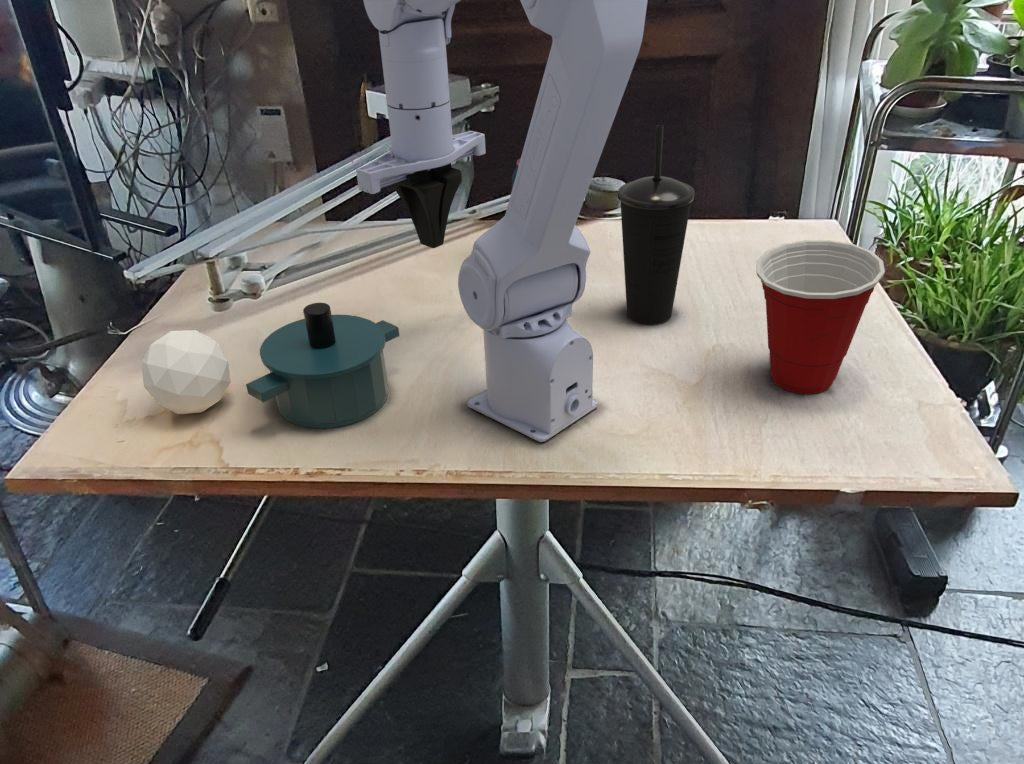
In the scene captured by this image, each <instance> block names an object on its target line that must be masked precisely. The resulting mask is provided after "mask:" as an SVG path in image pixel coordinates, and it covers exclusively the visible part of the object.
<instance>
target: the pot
mask: <svg viewBox="0 0 1024 764" xmlns="http://www.w3.org/2000/svg"><path fill="white" fill-rule="evenodd" d="M375 323H376V324H377V325H379V326H380V327H381V329H382V330H383V332H384V334H385V340H386V341H385V344H386V343H388V342H390V341H392V340H394V339H396V338H398V337H400V329H399V327H398V326H397V325H395V324H392V323H391V322H389V321H386V320H384V319H382V320H380V321H377V322H375ZM385 360H386V359H385V355H384V350H383V351H382V353H381V354H380V355H379V356H378V357H377V358H376V359H375V360H374V361H372V362H371V363H369V364H367V365H366V366H364V367H362V368H360V369H358V370H355V371H352V372H350V373H347V374H343V375H339V376H335V377H329V378H322V379H296V378H289V377H285V376H281V375H278V374H276V373H274V372H272V371H270V370H269V369H268V371H269V372H268V373H267V374H265V375H262V376H261V377H258V378H256V379H254V380H252V381H249V382H248V383H246V384H245V387H246V390H247V394H248V395H250V396H252V397H253V398H255V399H256V400H257V401H259V402H260V403H266V402H268V401H270V400H271V399H274V398H275V402H276V405H277V408H278V411H279V413H280V414H281V416H282V417H283V418H284V419H285V420H287V421H288V422H290V423H292V424H294V425H297V426H300V427H303V428H311V429H334V428H341V427H344V426H349V425H353V424H355V423H358V422H361V421H363V420H365V419H367V418H369V417H370V416H373V415H374V414H376V412H378V411H379V410H380V409H382V407H383V406H384V404H385V403H386V401H387V399H388V397H389V396H388V395H389V389H388V387H389V384H388V376H387V368H386V361H385Z"/></svg>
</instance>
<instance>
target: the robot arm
mask: <svg viewBox="0 0 1024 764" xmlns="http://www.w3.org/2000/svg"><path fill="white" fill-rule="evenodd" d="M362 1H363V5H364V9H365V11H366V14H367V17H368V19H369V21H370V22H371V24H372V25H373V26H374V28H375V29H377V30H378V39H379V47H380V55H381V64H382V74H383V82H384V91H385V100H386V107H387V116H388V124H389V132H390V140H391V141H390V142H391V144H389V145H388V150H389V151H387V152H386V153H384V154H382V155H381V156H379V157H378V158H376V159H374V160H373V161H371V162H369V163H367V164H365V165H363V166H361V167H357V168H356V169H355V171H356V172H355V173H356V179H357V188H358V190H359V191H362V192H364V193H368V194H369V195H374V194H377V193H380V192H381V189H382V188H385V187H388V186H391V187H392V188H393V190H394V191H395V193H396V194H397V195H398V197H399V198H400V200H401V201H402V204H403V205H404V207H405V208H406V211H407V212H408V215H409V217H410V219H411V221H412V223H413V226H414V229H415V231H416V234H417V237H418V241H419V243H420V245H423V246H426V247H428V248H431V249H436V248H439V247H440V246H443V245H444V241H445V236H446V229H447V226H448V225H447V223H448V219H449V216H450V215H449V214H450V211H451V206H452V204H453V201H454V199H455V196H456V193H457V191H458V190H459V188H460V186H461V184H462V182H463V174H462V171H461V170H460V169H459V168H455V167H452V166H453V165H452V163H455V162H458V161H461V160H464V159H466V158H469V157H472V156H476V157H480V156H483V155H485V154H487V153H486V136H485V133H481V132H478V131H474V130H468V131H465V132H462V133H457V134H453V122H452V110H451V98H450V97H451V96H450V95H451V94H450V84H449V83H450V82H449V81H450V80H449V69H448V56H447V54H448V53H447V45H449V44H450V43H451V38H452V19H453V14H454V12H455V9H456V4H457V3H459V2H460V1H461V0H362ZM519 2H520V3H521V6H522V8H523V10H524V12H525V15H526V17H527V19H528V22H529V24H530V25H531V26H532V27H534V28H536V29H538V30H540V31H542V32H544V33H545V34H547V35H549V36H551V38H552V43H551V47H550V50H549V54H548V58H547V61H546V65H545V68H544V72H543V76H542V79H541V83H540V87H539V90H538V94H537V98H536V101H535V105H534V109H533V113H532V117H531V120H530V123H529V127H528V130H527V135H526V138H525V142H524V145H523V149H522V152H521V156H520V158H521V159H520V158H519V159H520V163H519V167H518V170H517V174H516V177H515V181H514V185H513V188H512V187H511V192H510V196H509V200H508V202H507V206H506V211H505V214H504V215H503V217H501V218H500V219H499V220H498V221H497V222H496V223H495V224H493V225H492V226H491V227H489V228H488V229H487V230H486V231H485V232H483V234H481V235H480V236H479V237H478V238H477V239H475V241H474V242H473V246H472V250H471V252H470V254H469V256H467V258H465V259H464V260H463V261H462V263H461V265H460V269H459V272H458V277H457V279H458V280H457V287H458V294H459V299H460V301H461V304H462V306H463V308H464V311H465V312H466V314H467V316H468V317H469V319H470V320H471V322H473V323H474V324H475V325H477V327H479V328H480V329H482V332H483V348H484V349H483V350H484V363H485V365H484V367H485V377H486V378H485V380H486V390H485V391H483V392H481V393H479V394H478V395H476V396H474V397H472V398H471V399H469V400H468V401H467V406H468V408H470V409H472V410H474V411H476V412H479V413H481V414H482V415H484V416H486V417H488V418H490V419H492V420H494V421H496V422H498V423H501V424H502V425H504V426H507V427H508V428H510V429H512V430H515V431H517V432H519V433H521V434H523V435H525V436H527V437H529V438H531V439H533V440H534V441H537V442H539V443H543V442H546V441H547V440H550V439H551V438H552V437H554V436H555V435H557V434H558V433H560V432H561V431H563V430H565V429H566V428H567V427H569V426H571V425H572V424H573V423H575V422H576V421H578V420H580V419H581V418H582V417H584V416H586V415H587V414H588V413H590V412H592V411H593V410H595V409H596V408H597V407H598V401H597V400H596V399H594V398H593V381H594V380H593V378H594V377H593V376H594V374H593V373H594V351H593V347H592V345H591V342H590V341H589V340H588V339H587V338H586V337H585V336H583V335H581V334H580V333H578V332H577V331H576V330H574V329H573V327H572V326H571V325H570V323H569V322H568V320H567V319H568V318H570V317H572V316H573V304H575V303H577V302H579V301H580V299H581V298H582V297H583V294H584V292H585V289H586V283H587V263H588V259H589V257H590V255H591V248H590V246H589V244H588V243H587V239H586V238H585V236H584V234H583V233H582V232H581V230H580V229H579V227H578V226H577V225H576V224H577V222H578V218H579V216H580V213H581V209H582V208H583V205H584V202H585V199H586V197H587V195H588V191H589V189H590V186H591V183H592V181H593V177H594V175H595V173H596V169H597V167H598V164H599V161H600V159H601V156H602V153H603V151H604V147H605V145H606V143H607V139H608V137H609V135H610V131H611V129H612V126H613V124H614V120H615V118H616V115H617V113H618V110H619V107H620V105H621V101H622V99H623V97H624V94H625V91H626V88H627V85H628V82H629V80H630V78H631V74H632V72H633V69H634V67H635V64H636V61H637V58H638V55H639V53H640V49H641V46H642V42H643V37H644V32H645V25H646V23H645V22H646V15H647V8H648V0H519Z"/></svg>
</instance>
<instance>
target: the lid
mask: <svg viewBox="0 0 1024 764" xmlns="http://www.w3.org/2000/svg"><path fill="white" fill-rule="evenodd" d="M302 311H303V317H304V318H302V319H298V320H295V321H293V322H290V323H287V324H284V325H283V326H281V327H279V328H277V329H276V330H274V331H273V332H271V333H270V334H269V335H268V336H267V337H266V338H265V339H264V340H263V342H262V343H261V345H260V348H259V357H260V361H261V363H262V364H263V366H264V367H265V368H266V369H267V370H268V371H269V370H270V371H272V372H274V373H276V374H278V375H281V376H285V377H289V378H296V379H322V378H329V377H335V376H339V375H343V374H347V373H350V372H352V371H355V370H358V369H360V368H362V367H364V366H366V365H367V364H369V363H371V362H372V361H374V360H375V359H376V358H377V357H378V356H379V355H380V354H381V353H382V351H383V352H384V349H385V346H386V343H385V341H386V340H385V334H384V332H383V330H382V329H381V327H380V326H379V325H377V324H376V323H377V322H374V321H372V320H370V319H368V318H365V317H361V316H358V315H357V316H356V315H352V314H351V315H350V314H332V309H331V306H330V305H329V304H328V303H326V302H313V303H310V304H307V305H305V306H304V307H303V309H302ZM270 371H269V372H270Z"/></svg>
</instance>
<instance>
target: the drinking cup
mask: <svg viewBox="0 0 1024 764" xmlns="http://www.w3.org/2000/svg"><path fill="white" fill-rule="evenodd" d="M663 139H664V125H662V124H658V125H656V127H655V143H654V159H653V160H654V163H653V175H650V176H644V177H641V178H638V179H635V180H633V181H628V182H626V183H624V184H622V185H621V186H620V187H619V188H618V190H617V198H618V200H619V202H620V217H621V219H620V220H621V232H622V233H621V235H622V251H623V252H622V253H623V268H624V269H623V270H624V287H625V288H624V289H625V306H626V316H627V317H628V319H629V320H631V321H632V322H635V323H637V324H640V325H641V324H642V325H658V324H659V325H660V324H663V323H666V322H667V321H669V320H670V319H671V318H672V314H673V308H674V303H675V297H676V292H677V285H678V281H679V273H680V268H681V263H682V257H683V250H684V245H685V239H686V235H687V228H688V223H689V217H690V211H691V205H692V202H693V201H694V199H695V197H696V196H695V195H696V192H695V189H694V188H693V186H691V185H689V184H687V183H684V182H682V181H680V180H678V179H675V178H672V177H668V176H663V175H661V174H662V157H663V141H664V140H663Z"/></svg>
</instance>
